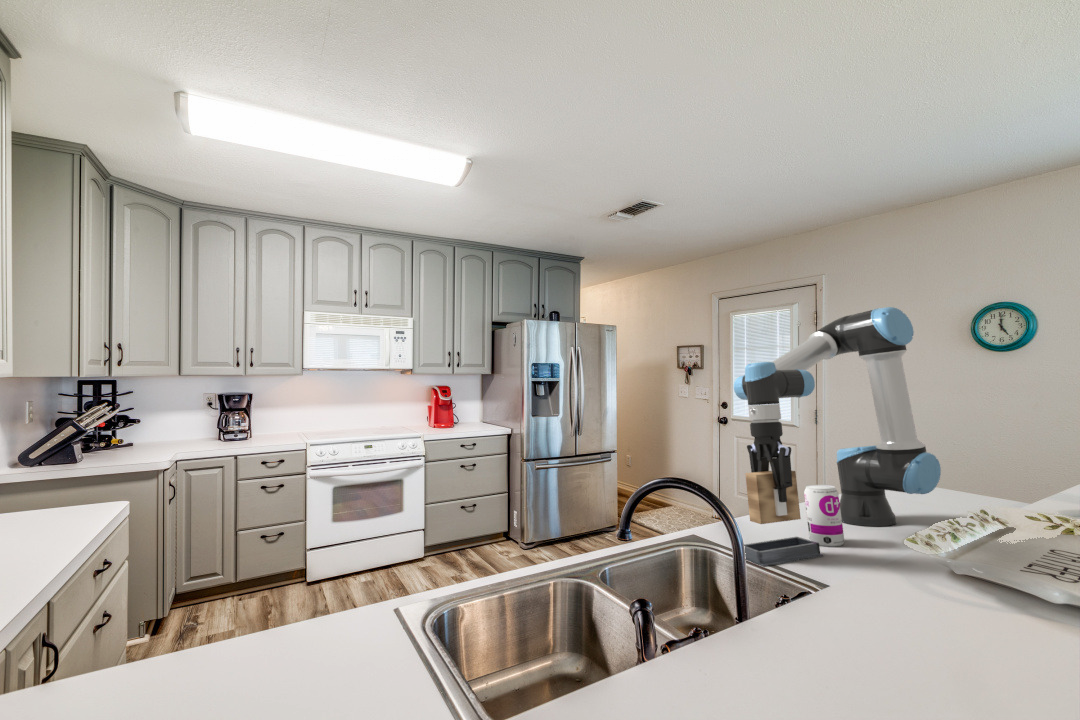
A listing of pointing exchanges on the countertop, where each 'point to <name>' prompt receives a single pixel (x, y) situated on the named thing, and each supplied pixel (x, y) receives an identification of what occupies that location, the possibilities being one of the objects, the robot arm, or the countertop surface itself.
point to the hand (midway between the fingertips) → (774, 513)
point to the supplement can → (824, 515)
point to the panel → (769, 498)
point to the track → (782, 551)
